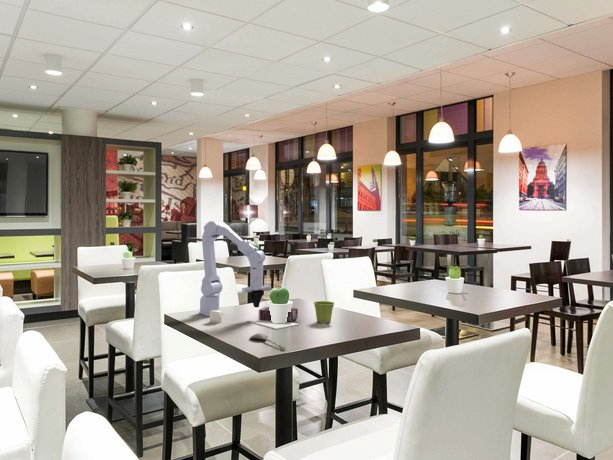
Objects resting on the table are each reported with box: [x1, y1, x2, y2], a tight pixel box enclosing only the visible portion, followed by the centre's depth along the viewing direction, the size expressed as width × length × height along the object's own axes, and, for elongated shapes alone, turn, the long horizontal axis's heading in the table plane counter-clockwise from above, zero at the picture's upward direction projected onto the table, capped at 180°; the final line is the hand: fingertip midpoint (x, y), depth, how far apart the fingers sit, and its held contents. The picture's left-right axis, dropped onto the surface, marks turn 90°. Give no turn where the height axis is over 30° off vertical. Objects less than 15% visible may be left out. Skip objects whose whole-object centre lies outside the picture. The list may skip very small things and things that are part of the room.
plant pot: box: [313, 300, 335, 324], centre depth 217 cm, size 9×9×9 cm
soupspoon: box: [249, 333, 287, 352], centre depth 179 cm, size 22×3×7 cm
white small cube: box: [209, 309, 223, 324], centre depth 214 cm, size 5×5×5 cm
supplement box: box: [258, 306, 299, 323], centre depth 219 cm, size 9×5×16 cm
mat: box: [250, 319, 300, 330], centre depth 212 cm, size 17×13×1 cm
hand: (256, 307), depth 222 cm, fingers closed
